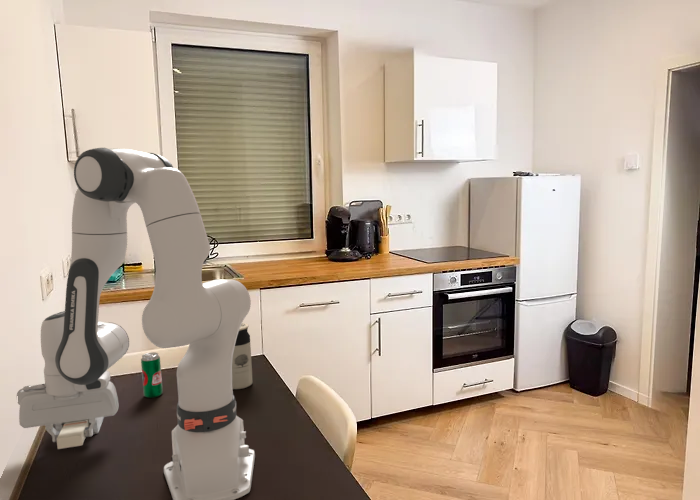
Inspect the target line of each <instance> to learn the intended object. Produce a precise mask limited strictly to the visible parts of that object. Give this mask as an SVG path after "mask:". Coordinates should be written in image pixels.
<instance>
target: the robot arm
mask: <svg viewBox="0 0 700 500" xmlns="http://www.w3.org/2000/svg"><path fill="white" fill-rule="evenodd" d="M73 177H74V182H75V185H76V186H77V189H76V190H75V194H74V200H73V206H72V212H71V213H72V214H71V255H70V256H71V257H70V265H69V268H68V275H67V278H66V279H67V280H66V289H65V306H64V310H63V311H60V312H56V313H54V314H51V315H49V316H48V317H46V318H44V320H42V323H41V327H40V348H41V357H42V358H43V360H44V368H43V378H44V383H40V384H34V385H26V386H23V388H20V389H19V390H18V391H17V393H16V397H17V396H18V402H17V404H18V405H19V412H18V422H19V425H20V426H21V427H22V428H23V429H29V428H36V427H42V426H45V430H46V431H47V433H48V434H50V435H51V438H52V439H51V440H52V443H57V437H58V436H59V434H60V432H61V431H56V427H54V426H55V424H58V423H65V422H72V421H78V420H85V419H89V423H91V422H92V423H91V425H90V427H86V428H85V430H84V432H85V438H89V437H92V436H93V435H94V434H93V426H94V424H95V422H96V420H97V418H99V417H104V418H107V417H112V416H115V415H116V414H117V412H118V411H119V397H118V393H117V389H116V386H115V384H114V383H113V382H112V381H111V372H110V371H109V369H110V368H111V367H113V366H114V365H115V364H116V363H117V362H119V361H120V359H122V358H123V357H124V356H125V355H126V353H128V350H129V347H130V337H129V335H128V333H127V331H126V330H125V329H124V328H123V327H122V326H121V325H120V324H118V323H114V322H106V321H101V320H99V314H100V313H99V311H100V300H101V299H100V298H101V294H102V291H103V289H104V287H105V286H106V284H107V282H108V281H109V279H110V278H111V276H113V274H114V273H115V272H116V271H117V270H118V269H119V268H120V267H121V266H122V264H123V263H124V262H125V259H126V254H127V250H128V220H127V218H128V210H129V209H130V207H131V206H132V205H133V204H137V205H138V206H139V208H140V210H141V213H142V215H143V216H142V217H143V220H144V225H145V228H146V232H147V235H148V238H149V242H150V245H151V249H152V254H153V258H154V264H155V265H154V266H155V280H154V287H153V291H152V294H151V296H150V299H149V301H147V304H146V305H145V307H144V309H143V310H142V311H143V312H142V315H141V325H142V330H143V334H144V335H145V336H146V338H147V339H148V341H149V342H150V343H151V344H153V345H154V346H156V347H158V348H161V349H169V348H170V349H171V348H178V347H184V346H188V348H187V350H186V352H185V354H184V356H183V357H182V358H181V359H180V361H179V363H178V365H177V368H176V384H177V397H178V399H177V400H178V402H177V404H176V417H177V418H176V419H177V425H176V426H175V427H174V428H172V430H171V444H172V446H171V447H172V455H171V458H170V460H171V461H170V462H167V463H166V464H165V465H164V466H163V474H164V477H165V480H166V483H167V485H168V488H169V489H168V490H169V492H170V494H171V498H172V500H236V499H239V498H242V497H243V496H245V495H247V494H249V493H250V491H251V487H252V481H253V473H254V467H255V466H254V465H255V458H256V453H255V449H252V448H249V447H250V446H249V445H248V444H245V439H246V438H247V431H246V430H245V429H244V428H245V427H244V420H243V418H241V417H239V416H238V415H237V401H236V397H235V395H234V391H233V390H234V389H233V388H232V358H233V352H234V347H235V343H236V339H237V335H238V332H239V329H240V326H241V324H242V323H244V320H245V319H246V317H247V316H248V314H249V312H250V311H251V310H250V309H251V301H252V300H251V296H250V292H249V291H248V289H247V288H246V286H245V285H244V284H243V283H242V282H240V281H239V280H237V279H230V278H229V279H226V278H225V279H223V278H217V279H213V280H208V281H205V282H203V279H202V278H203V277H202V276H203V275H202V271H203V265H204V262H205V260H206V259H207V258H208V256H209V255H210V252H211V245H210V241H209V238H208V235H207V231H206V227H205V224H204V221H203V218H202V214H201V211H200V208H199V207H200V206H199V204H198V202H197V199H196V197H195V194H194V192H193V190H192V188H191V186H190V185H191V184H190V183H189V181H188V179H187V177H186V176H185V175H184V173H183V172H181V171H180V170H179V169H177V168H175V167H174V166H173V164H172V163H171V162H170V160H168V159H167V158H165V157H164V156H162V155H160V154H157V153H154V152H144V151H138V150H134V149H131V148H107V147H97V148H96V147H95V148H91V149H88V150H85V151H83V152H82V153H81V154H80V155H79V156H78V157H77V159H76V161H75V163H74V167H73ZM244 430H245V431H244Z"/></svg>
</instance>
